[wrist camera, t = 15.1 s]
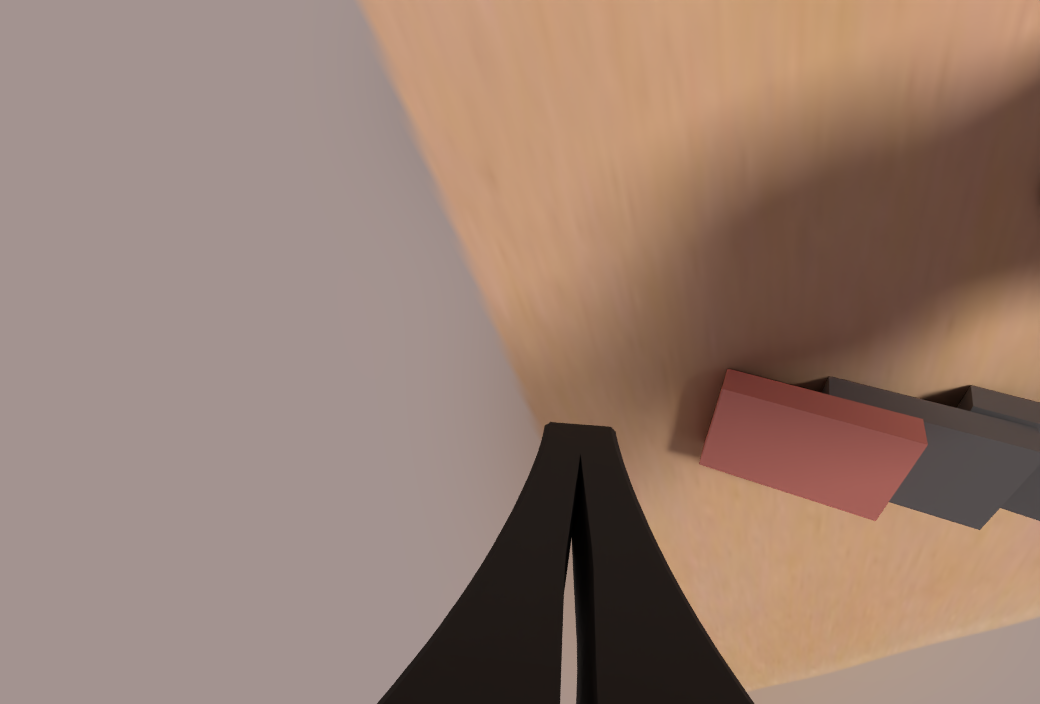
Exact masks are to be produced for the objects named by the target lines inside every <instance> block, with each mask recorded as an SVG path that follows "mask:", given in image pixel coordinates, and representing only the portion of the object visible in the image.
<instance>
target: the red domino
mask: <svg viewBox="0 0 1040 704" xmlns="http://www.w3.org/2000/svg"><path fill="white" fill-rule="evenodd" d="M927 445H928V443H927V437H926V432H925V427H924V422H923V419H920V418H917V417H913V416H909V415H905V414H901V413H897V412H893V411H890V410H886V409H882V408H878V407H874V406H870V405H866V404H863V403H859V402H855V401H851V400H847V399H843V398H839V397H836V396H832V395H828V394H824V393H820V392H816V391H813V390H809V389H805V388H801V387H797V386H793V385H789V384H786V383H782V382H778V381H774V380H770V379H766V378H762V377H759V376H755V375H751V374H747V373H743V372H739V371H735V370H732V369H727V372H726V375H725V378H724V382H723V385H722V388H721V391H720V394H719V398H718V401H717V404H716V407H715V411H714V414H713V417H712V420H711V423H710V427H709V430H708V433H707V436H706V439H705V443H704V447H703V450H702V454H701V458H700V462H699V464H700V465H703V466H706V467H710V468H713V469H716V470H719V471H722V472H725V473H728V474H731V475H734V476H737V477H741V478H744V479H747V480H750V481H753V482H756V483H759V484H762V485H765V486H768V487H772V488H775V489H778V490H781V491H784V492H787V493H790V494H793V495H796V496H799V497H803V498H806V499H809V500H812V501H815V502H818V503H821V504H824V505H827V506H830V507H834V508H837V509H840V510H843V511H846V512H849V513H852V514H855V515H858V516H861V517H865V518H868V519H871V520H874V521H876V520H877V518H878V517H879V515H880V514H881V512H882V511H883V509H884V508H885V507H886V505H887V504H888V502H889V501H890V499H891V498H892V496H893V495H894V493H895V492H896V491H897V489H898V488H899V486H900V485H901V483H902V482H903V480H904V479H905V477H906V476H907V475H908V473H909V472H910V470H911V469H912V467H913V466H914V464H915V463H916V461H917V460H918V459H919V457H920V456H921V454H922V453H923V451H924V450H925V448H926V447H927Z"/></svg>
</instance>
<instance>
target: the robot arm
mask: <svg viewBox="0 0 1040 704" xmlns="http://www.w3.org/2000/svg"><path fill="white" fill-rule="evenodd" d="M571 538H572V552H573V553H572V554H573V575H574V595H575V613H576V635H577V698H576V704H754V702H753V701H752V700H751V698H750V697H749V695H748V694H747V692H746V691H745V689H744V688H743V686H742V685H741V684H740V682H739V681H738V679H737V678H736V676H735V675H734V673H733V672H732V670H731V669H730V667H729V666H728V665H727V663H726V662H725V660H724V659H723V657H722V656H721V654H720V653H719V651H718V650H717V648H716V647H715V645H714V643H713V642H712V640H711V639H710V637H709V635H708V634H707V632H706V630H705V629H704V627H703V626H702V624H701V622H700V621H699V619H698V618H697V616H696V614H695V612H694V611H693V609H692V607H691V606H690V604H689V602H688V600H687V599H686V597H685V595H684V594H683V592H682V590H681V588H680V586H679V585H678V583H677V581H676V579H675V577H674V575H673V573H672V572H671V570H670V568H669V566H668V564H667V562H666V560H665V558H664V556H663V554H662V552H661V550H660V548H659V546H658V544H657V542H656V540H655V538H654V536H653V533H652V531H651V529H650V527H649V525H648V523H647V520H646V518H645V516H644V513H643V511H642V509H641V506H640V504H639V502H638V499H637V497H636V495H635V492H634V490H633V487H632V484H631V482H630V479H629V476H628V473H627V471H626V468H625V465H624V462H623V459H622V456H621V452H620V449H619V445H618V441H617V437H616V432H615V431H614V430H613V429H612V428H611V427H605V426H592V425H579V424H567V423H554V422H550V423H549V424H547V425H545V428H544V433H543V437H542V441H541V444H540V447H539V451H538V454H537V456H536V459H535V461H534V464H533V466H532V469H531V471H530V474H529V476H528V479H527V481H526V483H525V485H524V487H523V490H522V491H521V494H520V496H519V498H518V500H517V502H516V504H515V506H514V508H513V510H512V512H511V514H510V516H509V517H508V519H507V521H506V523H505V525H504V527H503V529H502V530H501V532H500V534H499V536H498V537H497V539H496V542H495V543H494V545H493V546H492V548H491V550H490V551H489V553H488V555H487V556H486V558H485V560H484V562H483V563H482V565H481V566H480V568H479V569H478V571H477V572H476V574H475V575H474V577H473V579H472V580H471V582H470V583H469V585H468V586H467V588H466V589H465V591H464V592H463V594H462V595H461V597H460V598H459V600H458V601H457V602H456V604H455V605H454V606H453V608H452V609H451V611H450V612H449V613H448V615H447V616H446V618H445V619H444V620H443V622H442V623H441V625H440V626H439V627H438V629H437V630H436V631H435V633H434V634H433V636H432V637H431V638H430V639H429V641H428V642H427V643H426V644H425V646H424V647H423V648H422V649H421V651H420V652H419V653H418V654H417V656H416V657H415V658H414V660H413V661H412V662H411V663H410V664H409V665H408V667H407V668H406V669H405V670H404V672H403V673H402V674H401V675H400V677H399V678H398V679H397V680H396V682H395V683H394V684H393V685H392V686H391V688H390V689H389V690H388V691H387V693H386V694H385V695H384V696H383V697H382V698H381V700H380V701H379V702H378V703H377V704H560V687H561V686H560V685H561V656H562V626H563V599H564V588H565V582H566V574H567V567H568V559H569V552H570V545H571Z"/></svg>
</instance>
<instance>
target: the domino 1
mask: <svg viewBox="0 0 1040 704" xmlns="http://www.w3.org/2000/svg"><path fill="white" fill-rule="evenodd" d="M822 393H824V394H828V395H832V396H836V397H839V398H843V399H847V400H851V401H855V402H859V403H863V404H866V405H870V406H874V407H878V408H882V409H886V410H890V411H893V412H897V413H901V414H905V415H909V416H913V417H917V418H920V419H923V422H924V427H925V432H926V437H927V443H928V445H927V447H926V448H925V450H924V451H923V453H922V454H921V456H920V457H919V459H918V460H917V461H916V463H915V464H914V466H913V467H912V469H911V470H910V472H909V473H908V475H907V476H906V477H905V479H904V480H903V482H902V483H901V485H900V486H899V488H898V489H897V491H896V492H895V493H894V495H893V496H892V498H891V499H890V501H889V502H891V503H894V504H897V505H900V506H904V507H907V508H910V509H913V510H917V511H920V512H923V513H926V514H930V515H933V516H936V517H939V518H943V519H946V520H949V521H952V522H956V523H959V524H962V525H965V526H969V527H972V528H975V529H978V530H980V529H981V528H982V527H983V526H984V525H985V524H986V523H987V522H988V520H989V519H990V518H991V517H992V516H993V515H994V514H995V513H996V512H997V511H998V510H999V508H1000V507H1001V506H1002V505H1003V504H1004V503H1005V502H1006V501H1007V500H1008V499H1009V497H1010V496H1011V495H1012V494H1013V493H1014V492H1015V491H1016V490H1017V489H1018V488H1019V487H1020V485H1021V484H1022V483H1023V482H1024V481H1025V480H1026V479H1027V478H1028V477H1029V476H1030V475H1031V473H1032V472H1033V471H1034V470H1035V469H1036V468H1037V467H1038V466H1039V465H1040V433H1039V431H1038V429H1037V428H1035V427H1031V426H1027V425H1023V424H1019V423H1015V422H1011V421H1007V420H1003V419H999V418H995V417H991V416H987V415H983V414H979V413H975V412H971V411H967V410H963V409H959V408H955V407H951V406H947V405H943V404H939V403H935V402H931V401H927V400H923V399H919V398H915V397H911V396H907V395H903V394H899V393H894V392H890V391H886V390H882V389H878V388H874V387H870V386H866V385H862V384H858V383H854V382H850V381H846V380H842V379H838V378H834V377H829V378H828V380H827V382H826V384H825V386H824V388H823V391H822Z"/></svg>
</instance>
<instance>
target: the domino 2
mask: <svg viewBox="0 0 1040 704" xmlns="http://www.w3.org/2000/svg"><path fill="white" fill-rule="evenodd" d="M957 408H959V409H963V410H967V411H971V412H975V413H979V414H983V415H987V416H991V417H995V418H999V419H1003V420H1007V421H1011V422H1015V423H1019V424H1023V425H1027V426H1031V427H1035V428H1037V429H1038V431H1039V433H1040V403H1039V402H1035V401H1031V400H1027V399H1023V398H1019V397H1016V396H1012V395H1008V394H1004V393H1000V392H996V391H992V390H988V389H984V388H980V387H976V386H972V385H971V386H970V387H969V389H968V391H967V392H966V394H965V395H964V397H963V399H962V400H961V402H960V403H959V405H958V406H957ZM1000 508H1002V509H1005V510H1008V511H1011V512H1014V513H1017V514H1020V515H1023V516H1027V517H1030V518H1033V519H1036V520H1039V521H1040V465H1039V466H1038V467H1037V468H1036V469H1035V470H1034V471H1033V472H1032V473H1031V475H1030V476H1029V477H1028V478H1027V479H1026V480H1025V481H1024V482H1023V483H1022V484H1021V485H1020V487H1019V488H1018V489H1017V490H1016V491H1015V492H1014V493H1013V494H1012V495H1011V496H1010V497H1009V499H1008V500H1007V501H1006V502H1005V503H1004V504H1003V505H1002V506H1001V507H1000Z"/></svg>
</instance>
